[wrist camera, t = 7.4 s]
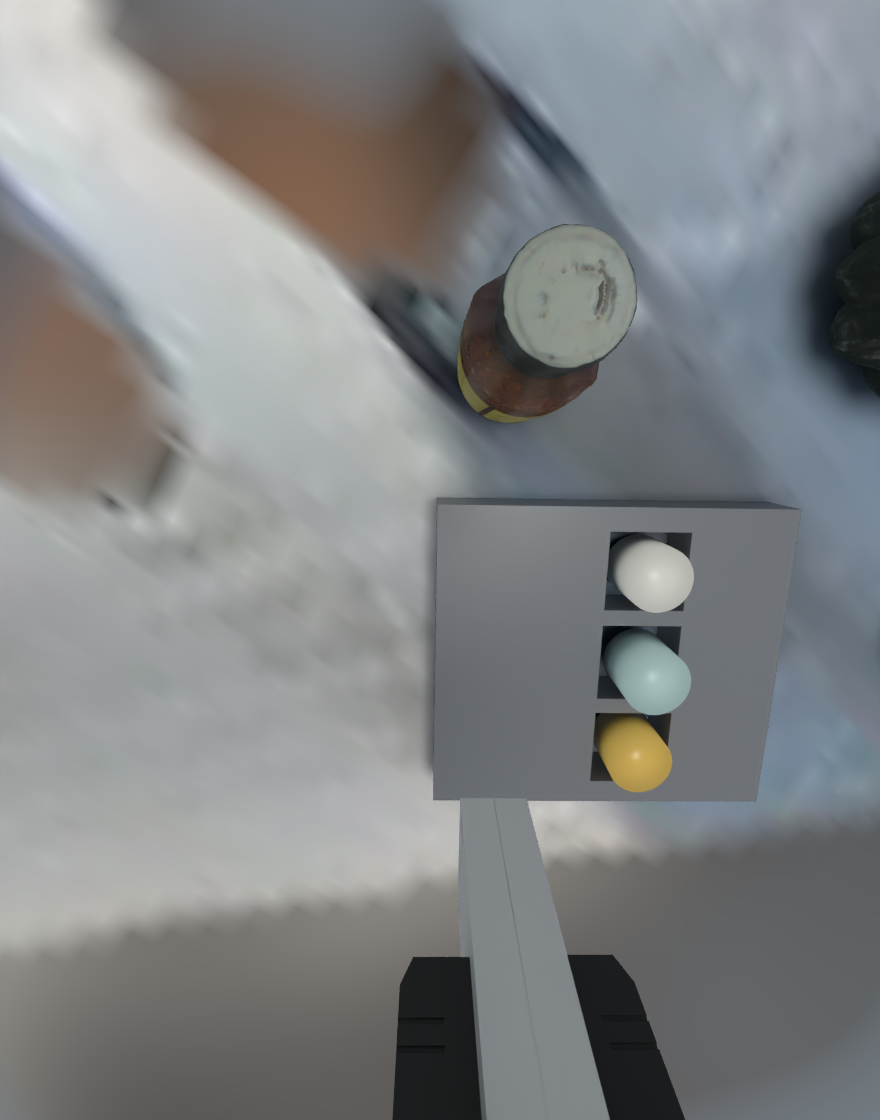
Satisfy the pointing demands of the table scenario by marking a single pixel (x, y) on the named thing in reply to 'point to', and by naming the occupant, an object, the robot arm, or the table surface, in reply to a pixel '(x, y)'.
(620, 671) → the teal button
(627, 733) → the amber button
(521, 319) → the sauce bottle
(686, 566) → the ivory button
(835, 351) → the squash
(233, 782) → the table surface
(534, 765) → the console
